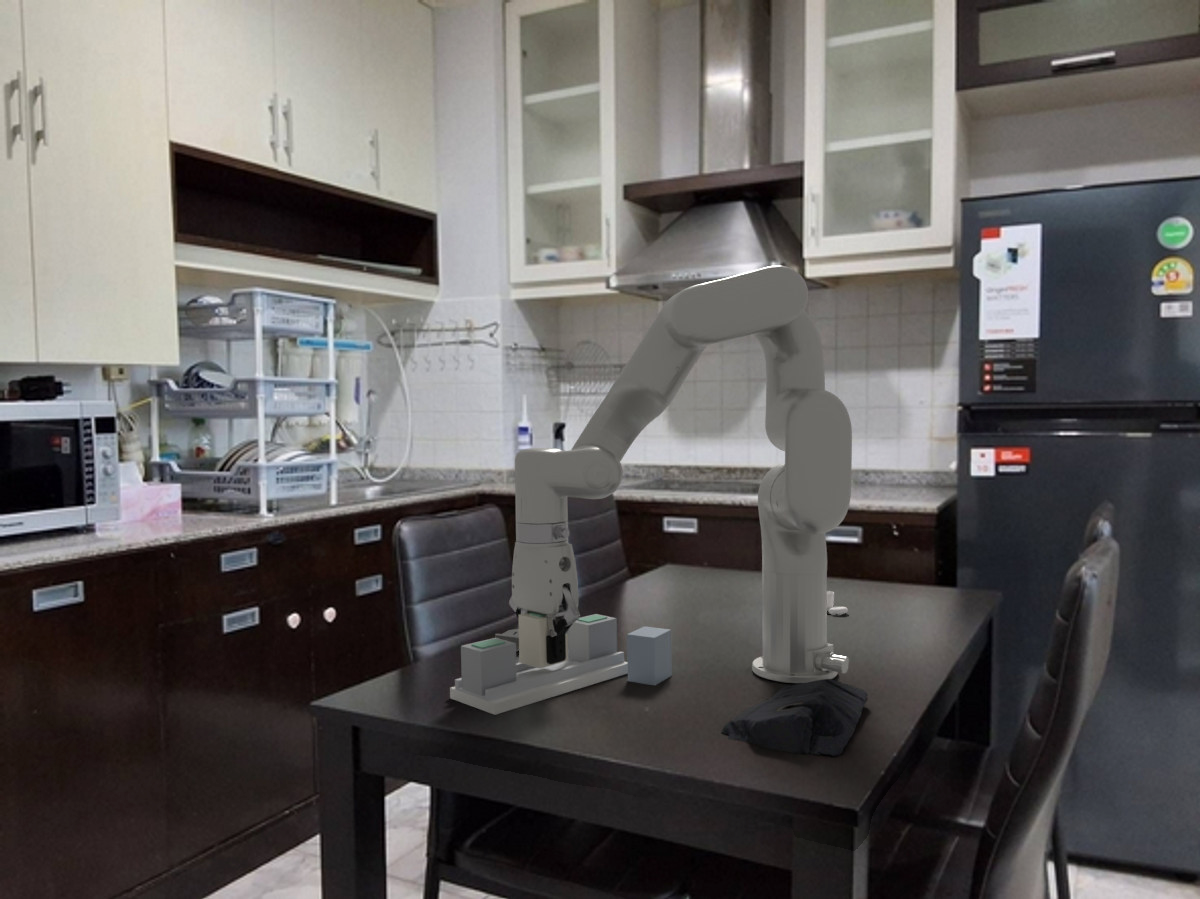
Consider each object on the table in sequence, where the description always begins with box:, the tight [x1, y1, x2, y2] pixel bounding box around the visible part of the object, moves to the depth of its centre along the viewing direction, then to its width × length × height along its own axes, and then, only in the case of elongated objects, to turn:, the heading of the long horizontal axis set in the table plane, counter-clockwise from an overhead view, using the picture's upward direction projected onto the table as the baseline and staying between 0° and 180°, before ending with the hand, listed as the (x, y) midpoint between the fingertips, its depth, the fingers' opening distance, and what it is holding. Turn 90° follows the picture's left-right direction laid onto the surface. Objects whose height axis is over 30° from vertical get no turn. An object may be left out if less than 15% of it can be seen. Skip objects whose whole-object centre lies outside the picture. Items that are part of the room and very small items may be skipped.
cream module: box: [518, 612, 568, 668], centre depth 133 cm, size 4×6×7 cm
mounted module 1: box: [460, 637, 517, 696], centre depth 126 cm, size 4×6×6 cm
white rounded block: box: [827, 590, 849, 615], centre depth 178 cm, size 9×8×4 cm
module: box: [626, 626, 673, 686], centre depth 135 cm, size 4×6×7 cm
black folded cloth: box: [721, 678, 868, 757], centre depth 116 cm, size 15×22×5 cm
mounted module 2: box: [568, 613, 618, 663], centre depth 140 cm, size 4×6×6 cm
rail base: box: [449, 651, 628, 716], centre depth 133 cm, size 10×26×3 cm, turn 135°
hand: (544, 657), depth 133 cm, fingers closed on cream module, 4 cm apart
